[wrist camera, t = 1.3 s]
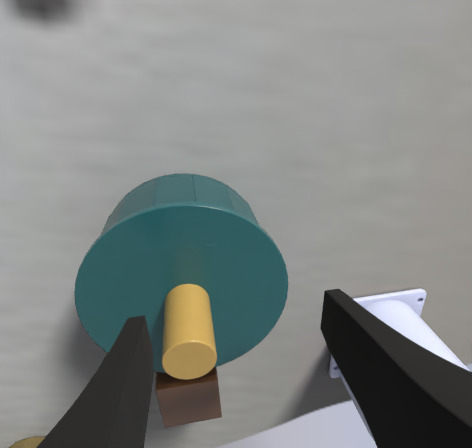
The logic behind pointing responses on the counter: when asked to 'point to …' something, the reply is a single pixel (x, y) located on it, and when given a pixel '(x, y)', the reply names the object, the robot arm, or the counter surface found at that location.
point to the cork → (28, 443)
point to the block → (188, 398)
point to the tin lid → (184, 284)
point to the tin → (179, 195)
